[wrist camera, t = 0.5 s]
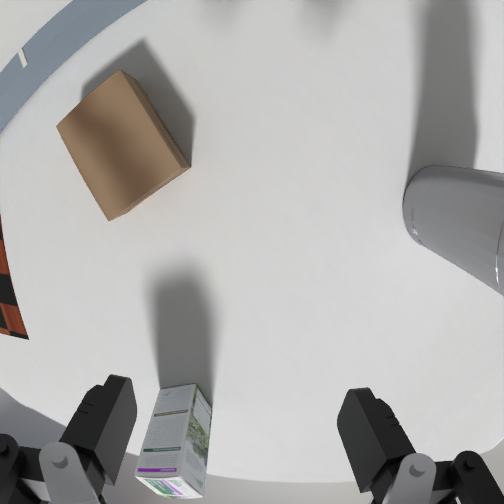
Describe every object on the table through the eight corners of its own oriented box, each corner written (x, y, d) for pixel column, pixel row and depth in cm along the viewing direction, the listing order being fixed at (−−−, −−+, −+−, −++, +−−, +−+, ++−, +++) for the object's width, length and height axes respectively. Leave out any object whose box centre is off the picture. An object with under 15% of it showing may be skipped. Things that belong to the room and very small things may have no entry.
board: (164, -29, 18) (154, -52, 13) (176, -16, 19) (166, -41, 14) (-15, 131, 22) (-41, 132, 17) (-10, 147, 23) (-36, 149, 18)
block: (137, 81, 23) (119, 69, 19) (191, 167, 26) (180, 168, 22) (79, 129, 24) (56, 126, 20) (128, 212, 27) (108, 221, 23)
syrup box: (158, 388, 34) (129, 476, 20) (197, 381, 33) (179, 478, 19) (177, 414, 35) (158, 498, 21) (215, 409, 35) (205, 499, 21)
